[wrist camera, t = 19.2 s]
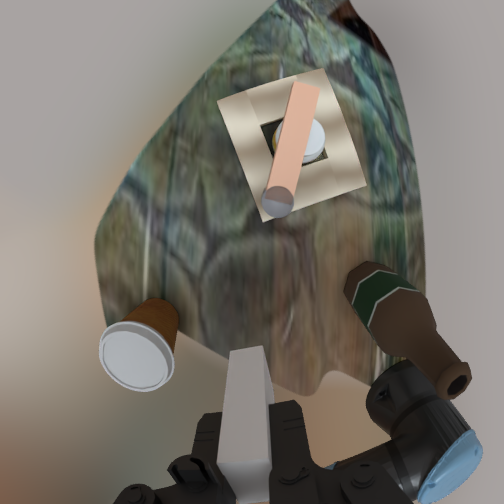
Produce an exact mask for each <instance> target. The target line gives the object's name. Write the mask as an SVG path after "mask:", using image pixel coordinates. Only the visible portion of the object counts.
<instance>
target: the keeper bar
mask: <svg viewBox="0 0 504 504" xmlns="http://www.w3.org/2000/svg"><path fill="white" fill-rule="evenodd" d="M319 93H320V88H318V87H315V86H311V85H308V84H304V83H301V82H297V81H294V82H293V84H292V87H291V91H290V94H289V98H288V102H287V106H286V110H285V114H284V118H283V122H282V126H281V130H280V134H279V138H278V142H277V146H276V150H275V154H274V158H273V162H272V166H271V170H270V174H269V178H268V182H267V186H266V189H265V191H264V192H263V194H262V197H261V203H262V206H263V209H264V211H265V212H266V213H267V214H268V215H270V216H271V217H274V218H282V217H285V216H286V215H288V214H289V213H290V212H291V211H292V209H293V206H294V194H295V190H296V186H297V182H298V178H299V174H300V170H301V166H302V162H303V158H304V154H305V150H306V146H307V142H308V138H309V134H310V130H311V126H312V122H313V118H314V114H315V109H316V105H317V101H318V97H319Z"/></svg>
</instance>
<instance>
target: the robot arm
mask: <svg viewBox="0 0 504 504" xmlns="http://www.w3.org/2000/svg"><path fill="white" fill-rule="evenodd" d="M366 408H367V411H368V413H369V415H370V417H371V419H372V420H373V422H375V423H376V424H377V425H378V426H379V427H380V428H382V429H383V430H384V431H385V432H386V433H387V434H389V435H390V437H391V439H392V440H390V441H388V442H385V443H383V444H381V445H379V446H376V447H374V448H372V449H370V450H367V451H365V452H363V453H360V454H358V455H355V456H353V457H350V458H348V459H345V460H342V461H337V462H335V463H334V464H332V465H330V466H327V467H325V468H322V467H320V466H318V465H317V464H315V463H314V461H313V460H312V458H311V455H310V450H309V445H308V439H307V434H306V429H305V423H304V418H303V413H302V408H301V406H300V405H299V404H298V403H297V402H296V401H295V400H290V401H285V402H279V403H275V401H274V390H273V386H272V382H271V378H270V374H269V370H268V366H267V362H266V358H265V353H264V349H263V345H262V346H256V347H251V348H245V349H239V350H234V351H230V357H229V365H228V373H227V381H226V389H225V397H224V406H223V412H216V413H206V414H204V415H203V417H202V418H201V419H200V420H199V422H198V424H197V429H196V435H195V439H194V444H193V448H192V453H191V454H190V455H184V456H181V457H179V458H177V459H175V460H174V461H173V462H172V463H171V464H170V465H169V467H168V469H167V471H168V472H169V473H170V475H171V476H172V478H173V479H174V480H175V482H176V483H177V484H175V485H172V486H169V487H165V488H161V489H156V490H152V489H151V488H150V487H149V486H147V485H145V484H133V485H130V486H128V487H126V488H125V489H124V490H123V491H122V492H121V493H120V494H119V496H118V497H117V499H116V500H115V502H114V503H113V504H236V499H237V501H238V502H239V504H246V503H257V502H267V501H269V503H270V504H414V503H413V502H412V501H414V500H416V499H417V500H418V502H420V503H421V504H431V503H432V502H437V501H438V500H440V499H442V498H444V497H445V496H447V495H449V494H450V493H452V492H453V491H454V490H455V489H457V488H458V487H459V486H460V485H461V484H462V483H464V482H465V481H466V480H467V479H468V478H469V476H470V475H471V474H472V473H473V472H474V470H475V469H476V468H477V466H478V464H479V463H480V461H481V458H482V454H483V449H482V445H481V444H480V442H479V440H478V439H477V437H476V435H475V432H474V430H473V429H471V428H470V426H469V425H468V424H467V422H466V421H465V419H464V418H463V417H462V415H461V414H460V413H459V411H458V410H457V409H456V407H455V406H454V405H453V404H452V402H451V401H450V400H443V399H441V398H439V397H438V396H437V394H436V391H435V388H434V386H433V385H432V384H431V382H430V381H429V380H428V379H427V378H426V377H425V376H424V375H423V374H422V372H421V371H420V370H419V369H418V368H417V367H416V366H415V365H414V364H413V363H412V362H411V361H410V360H405V361H402V362H400V363H398V364H396V365H394V366H393V367H391V368H389V369H388V370H387V371H385V372H384V373H383V374H382V375H381V376H380V377H379V378H378V379H377V380H376V381H375V383H374V384H373V385H372V387H371V388H370V390H369V392H368V395H367V399H366Z"/></svg>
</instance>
